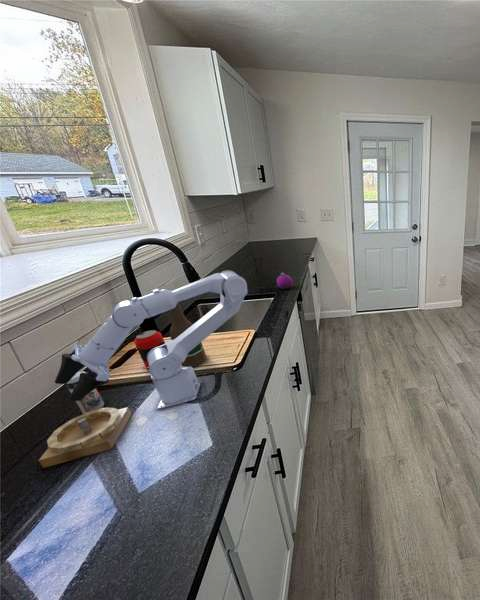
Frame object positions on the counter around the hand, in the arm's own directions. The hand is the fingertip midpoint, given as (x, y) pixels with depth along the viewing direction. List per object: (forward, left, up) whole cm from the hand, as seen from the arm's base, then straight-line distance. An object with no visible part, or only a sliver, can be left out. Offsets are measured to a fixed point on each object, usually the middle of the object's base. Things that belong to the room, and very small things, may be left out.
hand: (66, 391), depth 77 cm
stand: (-1, +3, -13) cm, 14 cm away
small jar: (+4, -11, -14) cm, 18 cm away
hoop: (-1, +3, -10) cm, 10 cm away
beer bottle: (-19, -26, -14) cm, 35 cm away
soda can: (-7, -31, -14) cm, 35 cm away
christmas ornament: (-53, -90, -8) cm, 105 cm away
